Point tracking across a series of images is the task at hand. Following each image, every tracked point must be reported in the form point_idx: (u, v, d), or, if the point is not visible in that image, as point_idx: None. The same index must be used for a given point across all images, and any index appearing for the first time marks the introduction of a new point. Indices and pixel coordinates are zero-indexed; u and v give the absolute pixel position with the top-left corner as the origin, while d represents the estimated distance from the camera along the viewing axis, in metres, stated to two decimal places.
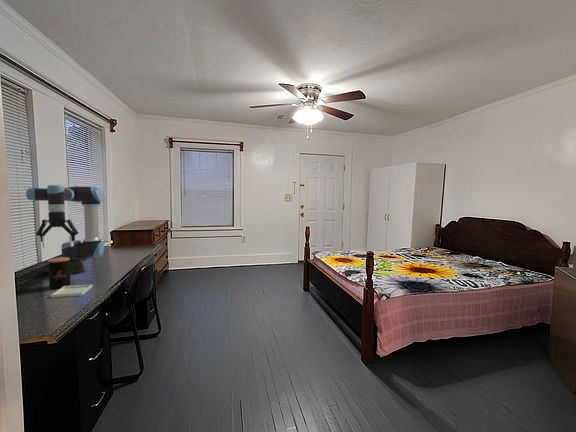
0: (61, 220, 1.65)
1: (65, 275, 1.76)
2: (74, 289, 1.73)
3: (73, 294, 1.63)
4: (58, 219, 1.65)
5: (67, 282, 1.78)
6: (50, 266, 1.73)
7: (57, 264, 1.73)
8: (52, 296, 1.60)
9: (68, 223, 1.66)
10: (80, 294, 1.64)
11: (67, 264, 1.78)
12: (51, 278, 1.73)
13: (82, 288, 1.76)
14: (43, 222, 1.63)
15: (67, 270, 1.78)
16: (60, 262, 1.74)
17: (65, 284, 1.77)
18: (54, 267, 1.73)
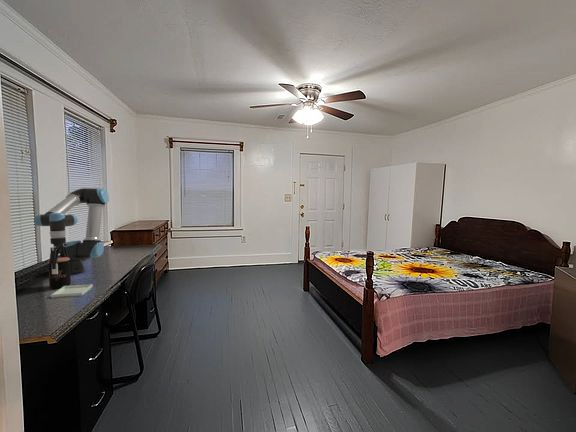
0: None
1: (65, 274, 1.76)
2: (74, 289, 1.73)
3: (73, 294, 1.63)
4: None
5: (67, 282, 1.78)
6: (50, 266, 1.73)
7: None
8: (52, 296, 1.60)
9: None
10: (80, 294, 1.64)
11: (67, 264, 1.78)
12: (51, 278, 1.73)
13: (82, 288, 1.76)
14: None
15: (67, 270, 1.78)
16: (60, 262, 1.74)
17: (65, 284, 1.77)
18: None
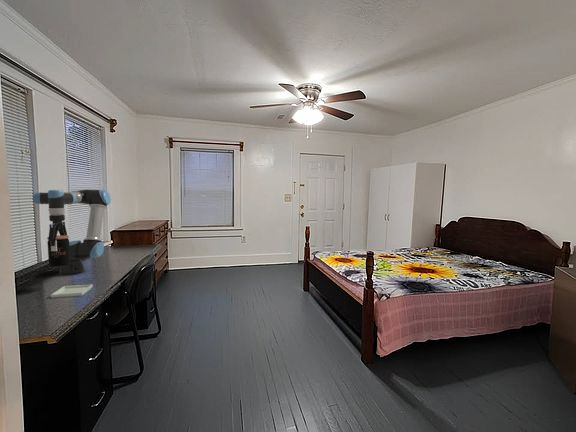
0: None
1: (64, 252, 1.76)
2: (74, 289, 1.73)
3: (73, 294, 1.63)
4: None
5: (66, 260, 1.77)
6: (49, 243, 1.72)
7: None
8: (52, 296, 1.60)
9: None
10: (80, 294, 1.64)
11: (66, 242, 1.77)
12: (50, 255, 1.73)
13: (82, 288, 1.76)
14: None
15: (67, 248, 1.77)
16: (59, 239, 1.73)
17: (64, 262, 1.76)
18: None
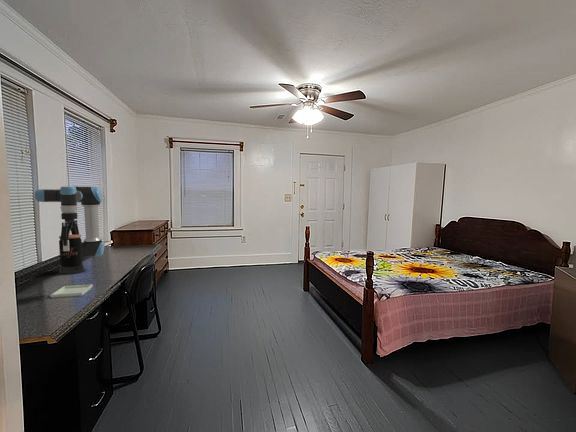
0: None
1: (76, 252, 1.66)
2: (74, 289, 1.73)
3: (73, 294, 1.63)
4: None
5: (79, 260, 1.68)
6: (61, 243, 1.62)
7: None
8: (52, 296, 1.60)
9: None
10: (80, 294, 1.64)
11: (79, 241, 1.67)
12: (62, 255, 1.63)
13: (82, 288, 1.76)
14: None
15: (79, 247, 1.68)
16: (72, 238, 1.64)
17: (77, 262, 1.67)
18: None
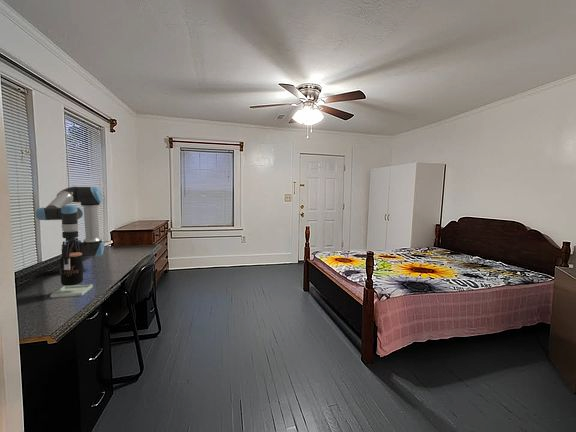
0: None
1: (77, 270, 1.67)
2: (74, 289, 1.73)
3: (73, 294, 1.63)
4: None
5: (80, 278, 1.69)
6: (62, 261, 1.63)
7: None
8: (52, 296, 1.60)
9: None
10: (80, 294, 1.64)
11: (80, 259, 1.68)
12: (63, 274, 1.64)
13: (82, 288, 1.76)
14: None
15: (80, 265, 1.69)
16: (72, 257, 1.65)
17: (77, 280, 1.67)
18: None
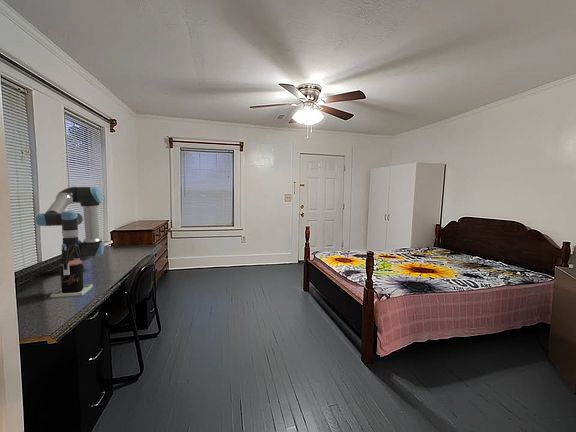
0: None
1: (77, 279, 1.67)
2: None
3: (73, 294, 1.63)
4: None
5: (80, 286, 1.69)
6: (62, 270, 1.64)
7: (70, 267, 1.64)
8: (52, 296, 1.60)
9: None
10: (80, 294, 1.64)
11: (80, 267, 1.69)
12: (63, 282, 1.64)
13: None
14: None
15: (80, 274, 1.69)
16: (73, 265, 1.65)
17: (78, 289, 1.68)
18: None
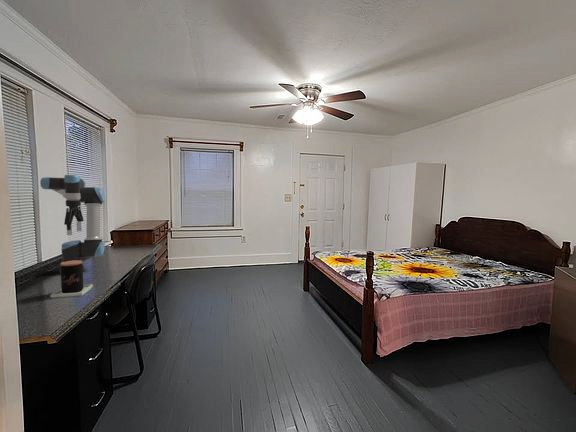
0: None
1: (78, 279, 1.67)
2: None
3: (73, 294, 1.63)
4: None
5: (80, 286, 1.69)
6: (62, 270, 1.64)
7: (70, 267, 1.64)
8: (52, 296, 1.60)
9: None
10: (80, 294, 1.64)
11: (80, 267, 1.69)
12: (63, 282, 1.64)
13: None
14: None
15: (80, 274, 1.69)
16: (73, 265, 1.65)
17: (78, 289, 1.68)
18: (67, 271, 1.64)
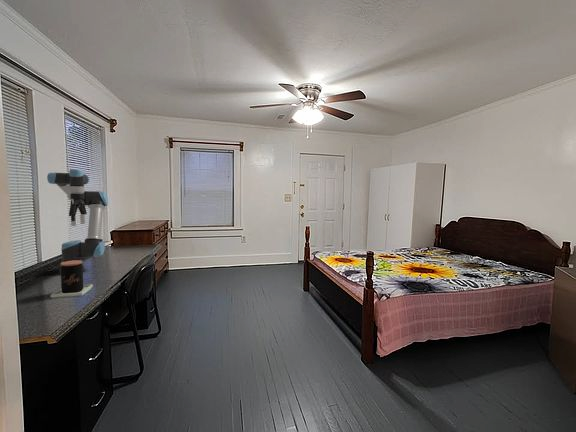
0: None
1: (78, 279, 1.67)
2: None
3: (73, 294, 1.63)
4: None
5: (80, 286, 1.69)
6: (62, 270, 1.64)
7: (70, 267, 1.64)
8: (52, 296, 1.60)
9: (71, 204, 1.80)
10: (80, 294, 1.64)
11: (80, 267, 1.69)
12: (63, 282, 1.64)
13: None
14: None
15: (80, 274, 1.69)
16: (73, 265, 1.65)
17: (78, 289, 1.68)
18: (67, 271, 1.64)
